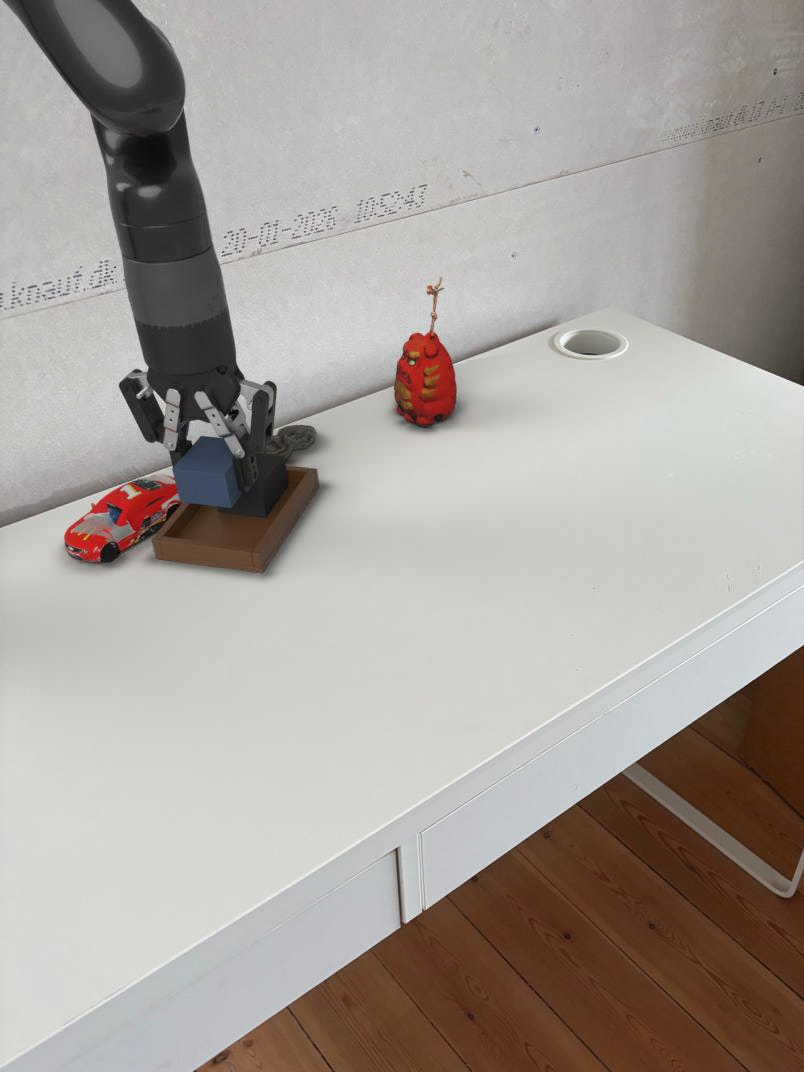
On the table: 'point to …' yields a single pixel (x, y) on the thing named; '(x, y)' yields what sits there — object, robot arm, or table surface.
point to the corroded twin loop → (291, 440)
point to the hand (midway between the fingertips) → (218, 483)
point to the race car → (122, 518)
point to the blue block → (207, 474)
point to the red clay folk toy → (425, 376)
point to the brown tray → (235, 529)
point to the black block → (262, 488)
